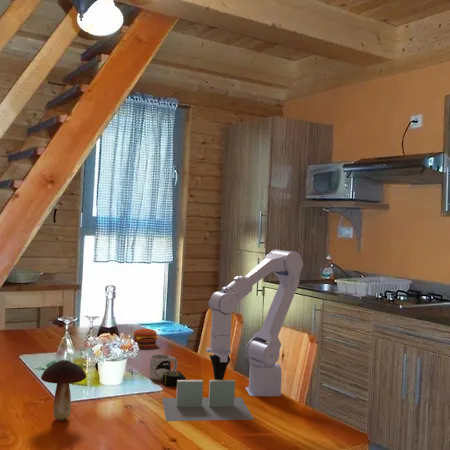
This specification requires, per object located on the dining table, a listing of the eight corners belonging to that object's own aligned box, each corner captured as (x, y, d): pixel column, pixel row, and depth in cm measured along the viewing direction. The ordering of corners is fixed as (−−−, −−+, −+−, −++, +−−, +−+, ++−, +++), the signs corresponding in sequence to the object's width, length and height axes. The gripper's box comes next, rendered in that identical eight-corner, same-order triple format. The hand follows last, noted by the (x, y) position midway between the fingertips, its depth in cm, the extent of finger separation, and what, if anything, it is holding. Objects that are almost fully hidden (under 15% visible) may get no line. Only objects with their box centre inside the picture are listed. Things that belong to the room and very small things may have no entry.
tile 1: (233, 404, 161) (234, 379, 161) (234, 406, 160) (235, 381, 160) (208, 404, 160) (209, 379, 160) (209, 406, 159) (210, 381, 158)
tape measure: (186, 388, 176) (186, 376, 176) (164, 389, 174) (164, 376, 174) (181, 381, 183) (181, 369, 183) (159, 382, 181) (160, 370, 181)
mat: (240, 398, 168) (241, 397, 168) (254, 421, 150) (254, 419, 150) (161, 399, 164) (162, 397, 164) (166, 422, 146) (166, 420, 146)
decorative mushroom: (47, 411, 151) (50, 354, 150) (89, 413, 150) (91, 356, 150) (32, 426, 140) (34, 365, 139) (77, 429, 139) (79, 367, 139)
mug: (157, 381, 181) (158, 360, 181) (145, 376, 186) (146, 355, 186) (182, 376, 188) (183, 356, 188) (170, 371, 193) (171, 352, 193)
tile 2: (201, 404, 160) (202, 379, 160) (201, 406, 158) (203, 381, 158) (176, 405, 159) (177, 379, 158) (176, 407, 157) (177, 381, 157)
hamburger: (129, 343, 231) (130, 327, 230) (152, 342, 235) (153, 326, 235) (136, 349, 222) (137, 331, 222) (160, 347, 226) (161, 330, 226)
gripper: (203, 328, 172) (201, 373, 172) (210, 339, 157) (208, 388, 158) (227, 328, 173) (225, 373, 173) (235, 339, 159) (233, 388, 159)
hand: (218, 380), depth 166 cm, fingers closed
